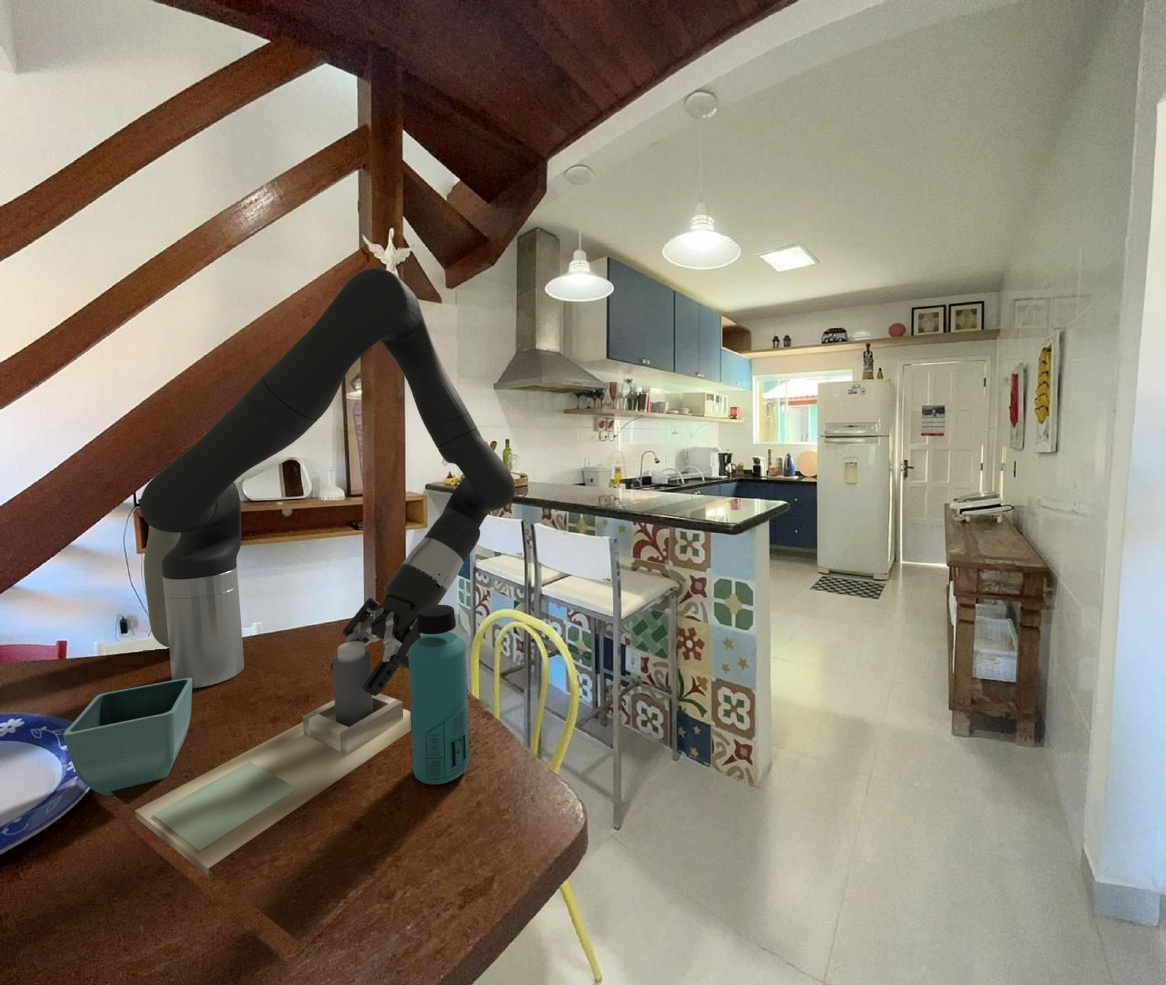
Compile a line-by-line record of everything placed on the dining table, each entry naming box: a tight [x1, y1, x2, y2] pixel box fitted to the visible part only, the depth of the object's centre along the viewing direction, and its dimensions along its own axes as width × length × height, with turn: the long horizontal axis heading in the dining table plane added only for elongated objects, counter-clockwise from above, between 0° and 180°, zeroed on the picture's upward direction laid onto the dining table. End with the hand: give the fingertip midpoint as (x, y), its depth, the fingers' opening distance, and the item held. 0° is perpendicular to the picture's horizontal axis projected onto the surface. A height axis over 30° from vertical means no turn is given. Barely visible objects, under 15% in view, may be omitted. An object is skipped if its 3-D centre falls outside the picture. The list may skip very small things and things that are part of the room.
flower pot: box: [62, 678, 193, 797], centre depth 54 cm, size 9×9×9 cm
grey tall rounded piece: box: [143, 524, 181, 648], centre depth 87 cm, size 10×10×28 cm
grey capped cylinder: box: [332, 641, 373, 727], centre depth 63 cm, size 4×4×11 cm
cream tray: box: [134, 692, 411, 877], centre depth 57 cm, size 14×26×3 cm, turn 152°
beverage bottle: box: [407, 604, 471, 785], centre depth 54 cm, size 6×7×20 cm
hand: (351, 682), depth 62 cm, fingers open, 8 cm apart
